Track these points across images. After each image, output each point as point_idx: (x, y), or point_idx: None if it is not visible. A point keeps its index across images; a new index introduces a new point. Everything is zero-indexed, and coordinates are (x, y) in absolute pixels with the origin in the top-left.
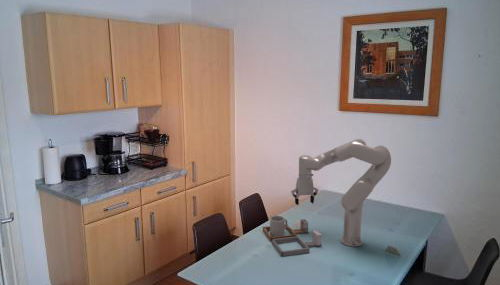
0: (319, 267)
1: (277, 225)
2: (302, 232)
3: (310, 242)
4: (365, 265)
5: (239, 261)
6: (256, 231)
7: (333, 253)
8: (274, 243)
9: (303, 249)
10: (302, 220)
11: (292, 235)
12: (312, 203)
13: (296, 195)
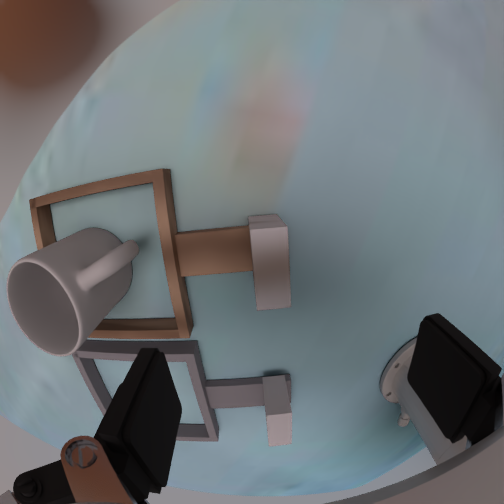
0: (225, 473)
1: (61, 338)
2: (246, 268)
3: (246, 390)
4: (348, 466)
5: (25, 396)
6: (22, 199)
7: (304, 434)
8: (84, 376)
9: (193, 440)
10: (258, 263)
11: (164, 337)
12: (410, 374)
13: (103, 494)
